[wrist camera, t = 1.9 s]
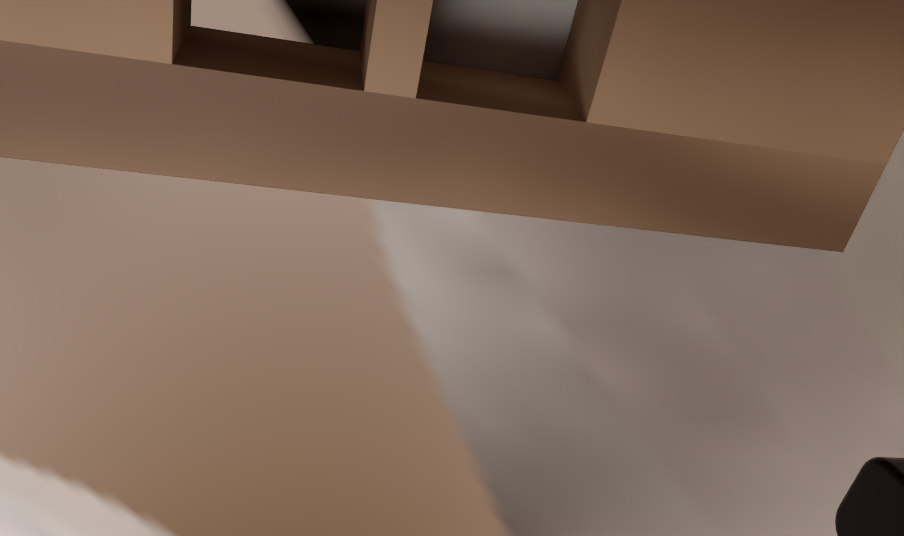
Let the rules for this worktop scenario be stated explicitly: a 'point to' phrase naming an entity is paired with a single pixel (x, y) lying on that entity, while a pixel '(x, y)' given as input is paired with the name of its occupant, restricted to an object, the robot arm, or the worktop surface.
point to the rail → (486, 111)
